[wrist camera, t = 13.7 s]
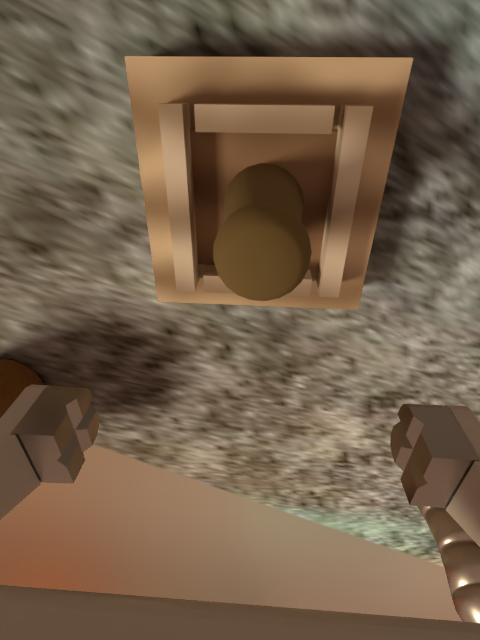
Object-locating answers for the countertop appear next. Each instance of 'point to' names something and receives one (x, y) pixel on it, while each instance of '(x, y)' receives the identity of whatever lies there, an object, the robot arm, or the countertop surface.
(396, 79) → the display stand
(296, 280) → the cork
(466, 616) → the plastic bottle
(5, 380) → the plant pot
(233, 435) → the countertop surface
